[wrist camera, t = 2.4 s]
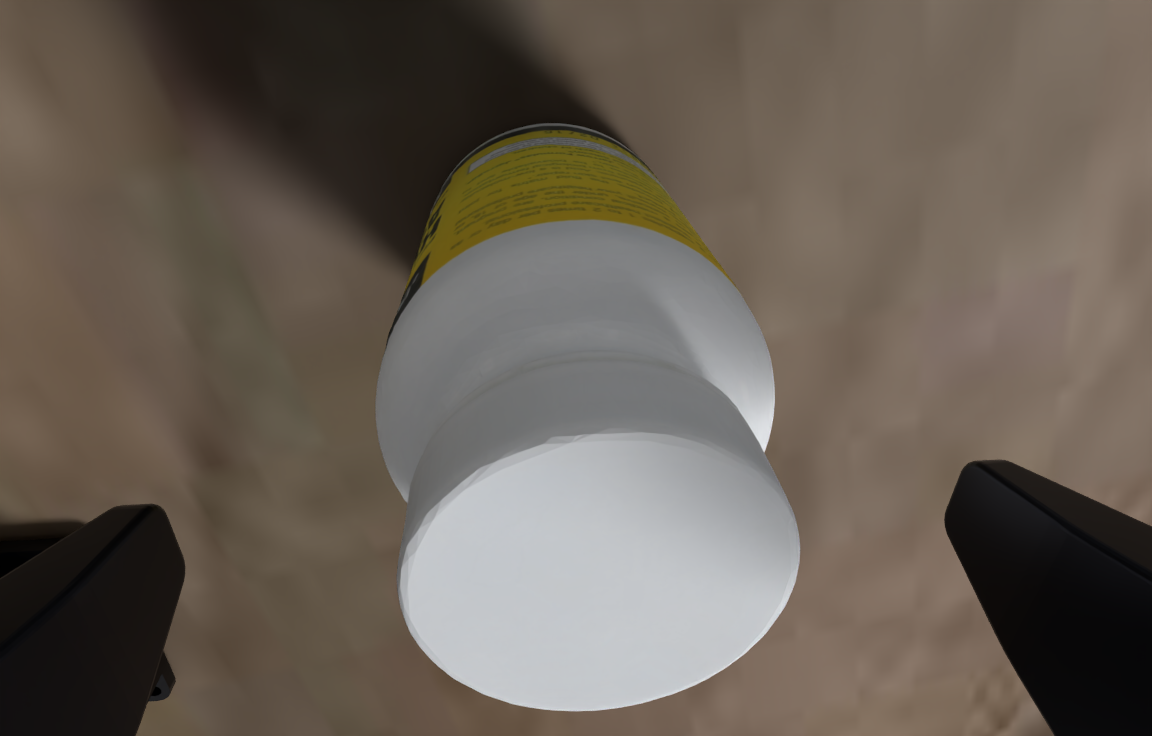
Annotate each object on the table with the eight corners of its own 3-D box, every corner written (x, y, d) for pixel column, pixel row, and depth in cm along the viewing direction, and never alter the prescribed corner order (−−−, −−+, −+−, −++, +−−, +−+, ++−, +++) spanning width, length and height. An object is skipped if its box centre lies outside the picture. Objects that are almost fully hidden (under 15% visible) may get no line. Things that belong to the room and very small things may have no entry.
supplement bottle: (405, 128, 13) (236, 381, 5) (671, 108, 14) (945, 316, 5) (446, 360, 16) (383, 779, 8) (666, 340, 16) (840, 721, 8)
